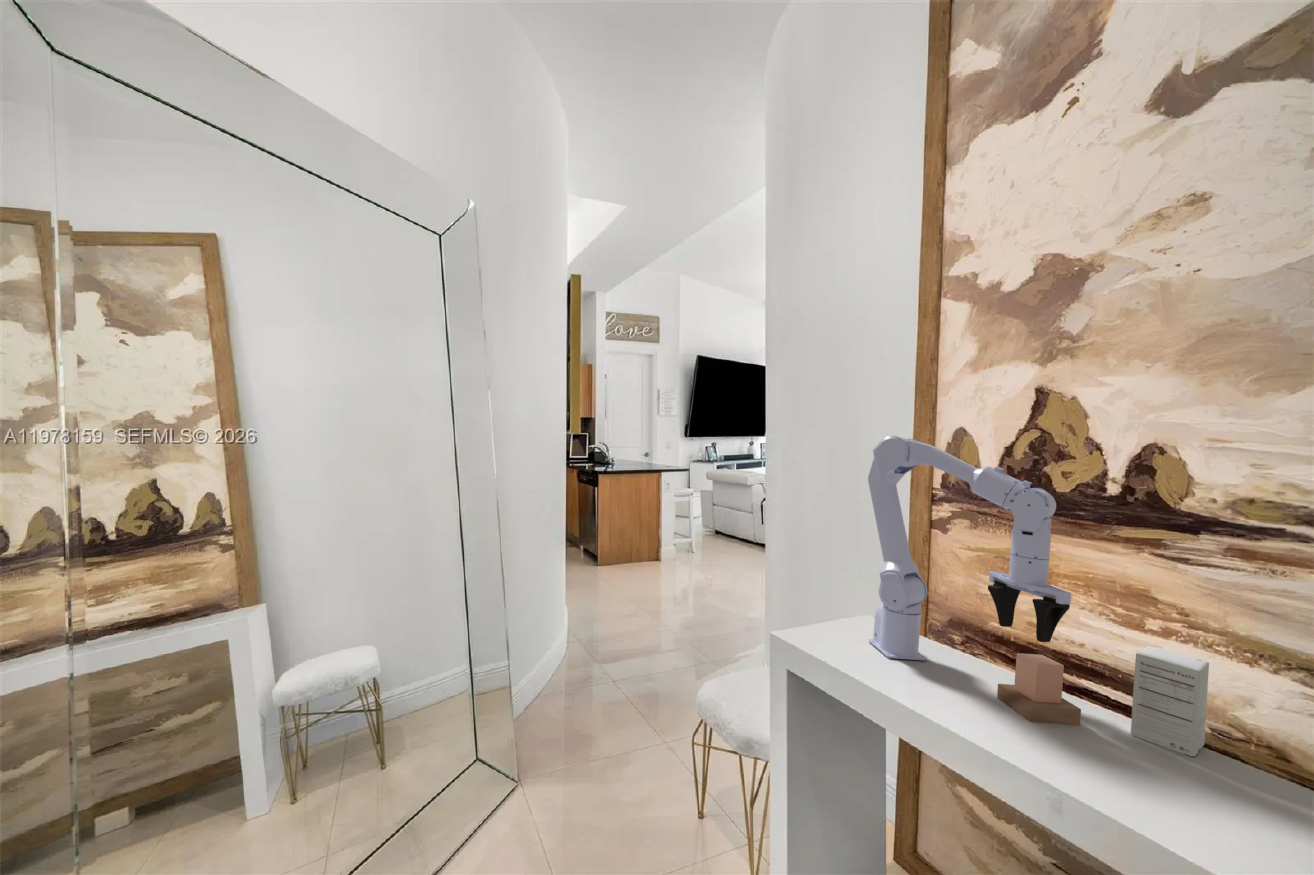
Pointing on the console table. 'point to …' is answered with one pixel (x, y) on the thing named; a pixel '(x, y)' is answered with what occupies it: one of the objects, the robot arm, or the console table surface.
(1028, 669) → the cube
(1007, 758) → the console table surface
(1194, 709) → the supplement box
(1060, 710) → the walnut block
